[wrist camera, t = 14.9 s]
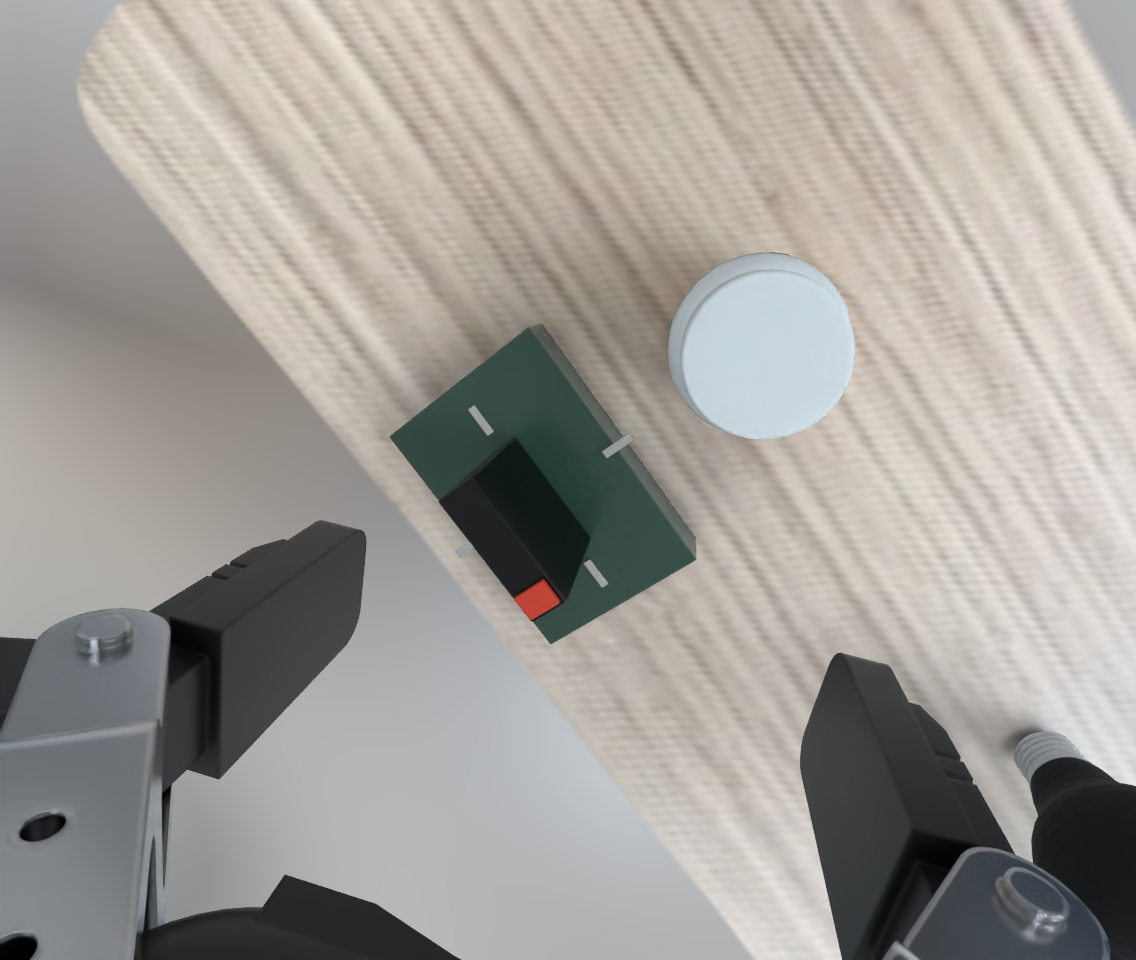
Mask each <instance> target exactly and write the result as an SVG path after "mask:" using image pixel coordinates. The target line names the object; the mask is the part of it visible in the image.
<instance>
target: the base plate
mask: <svg viewBox="0 0 1136 960" xmlns="http://www.w3.org/2000/svg"><path fill="white" fill-rule="evenodd" d="M390 438H391V440H392V441H393V442H394V443H395V445H396V446H397V447H398V449H399V450H400V451H401V452H402V454H403V455H404V456H405V458H406V459H407V460H408V461H409V463H410V464H411V465H412V467H413V468H414V469H415V470H416V472H417V473H418V474H419V476H420V477H421V478H422V479H423V481H424V482H425V483H426V485H427V486H428V487H429V488H430V490H431V491H432V492H433V494H434V495H435V496H436V497H437V499H438V500H440V499H441V498H442V497H443V496H444V495H445V494H446V493H447V492H449V491H450V490H451V489H452V488H453V487H454V486H455V485H457V484H458V483H459V482H460V481H461V480H462V479H463V478H465V477H466V476H467V475H468V474H469V473H470V472H471V471H473V470H474V469H475V468H476V467H477V466H478V465H479V464H481V463H482V462H483V461H484V460H485V459H486V458H487V457H489V456H490V455H491V454H493V453H494V452H495V451H497V450H498V449H500V448H501V447H502V446H504V445H505V444H506V443H508V442H509V441H511V440H512V439H513V438H516V439H517V440H518V441H519V442H520V444H521V445H522V446H523V448H524V449H525V451H526V452H527V453H528V455H529V456H530V457H531V459H532V460H533V461H534V463H535V464H536V465H537V467H538V468H539V469H540V471H541V472H542V473H543V475H544V476H545V477H546V479H547V480H548V481H549V483H550V484H551V485H552V487H553V488H554V489H555V491H556V492H557V493H558V495H559V496H560V497H561V499H562V500H563V501H564V503H565V504H566V505H567V507H568V508H569V510H570V511H571V512H572V514H573V515H574V516H575V518H576V519H577V520H578V522H579V523H580V524H581V526H582V527H583V528H584V530H585V531H586V532H587V534H588V535H589V536H590V538H591V540H590V543H589V545H588V548H587V550H586V553H585V556H584V558H583V561H582V563H581V566H580V569H579V571H578V574H577V576H576V579H575V581H574V584H573V587H572V589H571V592H570V594H569V597H568V600H567V602H566V603H565V604H563V605H561V606H560V607H558V608H556V609H555V610H553V611H551V612H550V613H548V614H546V615H545V616H543V617H541V618H540V619H538V620H536V621H534V624H535V625H536V626H537V627H538V629H539V630H540V631H541V633H542V634H543V635H544V636H545V638H546V639H547V640H548V642H549V643H550V644H552V643H554V642H556V641H558V640H559V639H561V638H563V637H564V636H566V635H568V634H570V633H571V632H573V631H575V630H576V629H578V628H580V627H582V626H583V625H585V624H587V623H588V622H590V621H592V620H594V619H595V618H597V617H599V616H601V615H602V614H604V613H606V612H607V611H609V610H611V609H613V608H614V607H616V606H618V605H619V604H621V603H623V602H625V601H626V600H628V599H630V598H631V597H633V596H635V595H637V594H638V593H640V592H642V591H643V590H645V589H647V588H649V587H650V586H652V585H654V584H656V583H657V582H659V581H661V580H662V579H664V578H666V577H668V576H669V575H671V574H673V573H674V572H676V571H678V570H680V569H681V568H683V567H685V566H686V565H688V564H690V563H692V562H693V561H695V560H696V537H695V536H694V535H693V533H692V532H691V530H690V529H689V528H688V526H687V525H686V524H685V522H684V521H683V519H682V518H681V517H680V515H679V514H678V512H677V511H676V510H675V508H674V507H673V505H672V504H671V503H670V501H669V500H668V498H667V497H666V496H665V494H664V493H663V492H662V490H661V489H660V487H659V486H658V485H657V483H656V482H655V480H654V479H653V478H652V476H651V475H650V473H649V472H648V471H647V469H646V468H645V466H644V465H643V464H642V462H641V461H640V460H639V458H638V457H637V455H636V454H635V453H634V451H633V450H632V448H631V447H630V446H629V443H631V442H632V441H634V438H633V437H632V435H631V434H630V433H628V434H626V435H625V436H622V434H621V433H620V432H619V430H618V429H617V428H616V426H615V425H614V423H613V422H612V421H611V419H610V418H609V416H608V415H607V414H606V412H605V411H604V409H603V408H602V407H601V405H600V404H599V402H598V401H597V400H596V398H595V397H594V395H593V394H592V393H591V391H590V390H589V389H588V387H587V386H586V384H585V383H584V382H583V380H582V379H581V377H580V376H579V375H578V373H577V372H576V370H575V369H574V368H573V366H572V365H571V363H570V362H569V361H568V359H567V358H566V357H565V355H564V354H563V352H562V351H561V350H560V348H559V347H558V345H557V344H556V343H555V341H554V340H553V338H552V337H551V336H550V334H549V333H548V331H547V330H546V329H545V327H544V326H543V325H542V324H539V325H536V326H533V327H529V328H527V329H526V330H524V331H523V332H522V333H521V334H519V335H518V336H517V337H516V338H514V339H513V340H512V341H510V342H509V343H508V344H507V345H505V346H504V347H503V348H502V349H500V350H499V351H498V352H496V353H495V354H494V355H493V356H491V357H490V358H489V359H488V360H486V361H485V362H484V363H482V364H481V365H480V366H479V367H477V368H476V369H475V370H474V371H472V372H471V373H470V374H468V375H467V376H466V377H465V378H463V379H462V380H461V381H460V382H458V383H457V384H456V385H454V386H453V387H452V388H451V389H449V390H448V391H447V392H445V393H444V394H443V395H442V396H440V397H439V398H438V399H437V400H435V401H434V402H433V403H431V404H430V405H429V406H428V407H426V408H425V409H424V410H423V411H421V412H420V413H419V414H417V415H416V416H415V417H414V418H412V419H411V420H410V421H409V422H407V423H406V424H405V425H403V426H402V427H401V428H400V429H398V430H397V431H396V432H395V433H393V434H392V435H391V436H390ZM473 548H474V547H473V546H472V544H471V543H470V542H469V541H468V542H467V543H465V544H464V545H462V546H461V547H459V548H458V549H457V550H455V553H456V554H457V555H458V557H461V556H462V555H464V554H465V553H467V552H468V551H470V550H471V549H473Z"/></svg>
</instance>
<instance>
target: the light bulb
mask: <svg viewBox="0 0 1136 960" xmlns="http://www.w3.org/2000/svg"><path fill="white" fill-rule="evenodd" d="M1014 759H1015V762H1016V765H1017V767H1018V768H1019V769H1020V771H1021V773H1022V774H1023V776H1024V777H1025V778H1026V780H1027V781H1028V783H1029V785H1030V789H1031V793H1032V798H1033V802H1034V805H1035V808H1036V810H1037V813H1038V818H1037V820H1036V822H1035V825H1034V829H1033V834H1032V840H1031V842H1032V857H1033V864H1035V865H1036V866H1038V867H1040V868H1041V869H1043V870H1045V871H1046V872H1048V873H1049V874H1050V875H1052V876H1053V877H1055V878H1056V879H1058V880H1059V881H1060V882H1061V883H1062V884H1064V885H1065V886H1066V887H1067V888H1069V889H1070V890H1071V891H1072V892H1073V893H1074V894H1075V895H1076V896H1077V897H1078V898H1079V899H1080V900H1081V901H1082V902H1083V903H1084V904H1085V905H1086V906H1087V907H1088V908H1089V909H1090V911H1091V912H1092V913H1093V915H1094V916H1095V917H1096V919H1097V920H1098V921H1099V923H1100V925H1101V926H1102V928H1103V930H1104V931H1105V934H1106V936H1107V938H1108V941H1109V945H1110V950H1111V951H1113V952H1115V953H1117V954H1118V955H1120V956H1122V957H1124V958H1126V959H1128V960H1136V786H1133V785H1128V784H1122V783H1119V782H1117V781H1115V780H1114V779H1113V778H1112V777H1110V776H1109V775H1108V774H1107V773H1105V772H1104V771H1103V770H1101V769H1100V768H1098V767H1096V766H1095V765H1093V764H1092V763H1090V762H1089V761H1087V760H1086V759H1085V758H1084V757H1083V755H1082V754H1081V753H1080V752H1079V750H1078V749H1077V748H1076V747H1075V745H1074V744H1072V743H1071V741H1070V740H1068V739H1067V738H1066V737H1065V736H1063V735H1061V734H1059V733H1055V732H1045V731H1042V732H1036V733H1033V734H1030V735H1028V736H1026V737H1025V738H1023V739H1022V740H1021V741H1020V742H1019V743H1018V745H1017V746H1016V749H1015V753H1014Z"/></svg>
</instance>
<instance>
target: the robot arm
mask: <svg viewBox="0 0 1136 960" xmlns="http://www.w3.org/2000/svg"><path fill="white" fill-rule="evenodd" d="M365 554H366V536H365V534H364V532H363V531H362V530H358V529H354V528H351V527H346V526H342V525H339V524H335V523H331V522H327V521H323V520H321V521H317V522H315V523H314V524H312V525H311V526H309V527H308V528H306V529H304V530H303V531H301V532H300V533H298V534H297V535H295V536H293V537H292V538H290V539H289V540H284V539H282V540H279V541H275V542H272V543H268V544H265V545H261V546H258V547H255V548H252V549H251V550H249V551H247V552H245V553H244V554H242V555H241V556H239V557H237V558H236V559H234V560H232V561H231V563H230V565H227V564H226V565H224V566H223V567H221V568H219V569H218V570H216V571H214V572H213V573H212V576H211V577H209V576H206V577H205V578H203V579H201V580H200V581H198V582H196V583H195V584H193V585H191V586H190V587H188V588H186V589H185V590H183V591H182V592H180V593H178V594H177V595H175V596H173V597H172V598H170V599H169V600H167V601H165V602H164V603H162V604H160V605H159V606H157V607H155V608H154V609H152V610H150V611H149V612H148V611H144V610H138V609H127V608H119V609H105V610H98V611H92V612H88V613H84V614H80V615H77V616H74V617H71V618H68V619H66V620H63V621H61V622H59V623H57V624H55V625H54V626H52V627H50V628H49V629H47V630H46V631H45V632H43V633H42V635H41V636H39V638H38V639H22V638H5V637H0V960H460V959H459V958H457V957H455V956H454V955H452V954H451V953H449V952H448V951H446V950H444V949H443V948H441V947H440V946H438V945H437V944H435V943H434V942H432V941H431V940H429V939H428V938H426V937H425V936H423V935H422V934H420V933H419V932H417V931H416V930H414V929H413V928H411V927H410V926H408V925H407V924H405V923H404V922H402V921H401V920H399V919H398V918H396V917H395V916H393V915H392V914H390V913H389V912H387V911H386V910H384V909H383V908H381V907H380V906H378V905H377V904H375V903H372V902H368V901H365V900H362V899H359V898H356V897H353V896H350V895H347V894H344V893H341V892H337V891H334V890H331V889H328V888H325V887H322V886H319V885H316V884H313V883H309V882H306V881H303V880H300V879H296V878H294V877H291V876H288V875H284V877H283V878H282V880H281V881H280V883H279V884H278V885H277V887H276V888H275V890H274V891H273V893H272V894H271V896H270V897H269V899H268V900H267V902H266V903H265V904H264V906H263V907H262V908H261V907H245V908H233V909H222V910H217V911H211V912H206V913H200V914H196V915H192V916H189V917H185V918H182V919H178V920H175V921H171V922H168V923H166V924H165V913H166V912H165V911H166V897H167V881H168V865H169V848H170V832H171V818H172V802H173V801H172V800H173V794H172V789H173V788H172V783H173V782H174V781H175V780H177V779H178V777H180V776H181V775H182V774H183V773H184V772H185V771H186V770H191V771H193V772H197V773H200V774H203V775H207V776H210V777H213V778H216V779H220V778H221V777H222V776H223V775H224V773H226V772H227V770H228V769H229V768H230V767H231V766H232V765H233V764H234V763H235V762H236V761H237V760H238V759H239V758H240V757H241V756H242V755H243V754H244V753H245V752H246V750H247V749H248V748H249V747H250V746H251V745H252V744H253V743H254V742H255V741H256V740H257V739H258V738H259V737H260V736H261V735H262V734H263V733H264V731H265V730H266V729H267V728H268V727H269V726H270V725H271V724H272V723H273V722H274V721H275V720H276V719H277V718H278V717H279V716H280V714H282V712H283V711H284V710H285V709H286V708H287V707H288V706H289V705H290V704H291V703H292V702H293V701H294V700H295V699H296V698H297V697H298V696H299V694H300V693H301V692H302V691H303V690H304V689H305V688H306V687H307V686H308V685H309V684H310V683H311V682H312V681H313V679H315V678H316V677H317V675H318V674H319V673H320V672H321V671H322V670H323V669H324V668H325V667H326V666H327V665H328V664H329V663H330V662H331V661H332V659H334V657H335V656H336V655H337V654H338V653H339V652H340V651H341V650H342V649H343V648H344V647H345V646H346V645H347V643H348V642H349V640H350V638H351V637H352V635H353V633H354V630H355V628H356V625H357V622H358V619H359V614H360V607H361V597H362V586H363V576H364V565H365ZM800 769H801V775H802V780H803V784H804V789H805V793H806V798H807V802H808V807H809V811H810V816H811V820H812V825H813V829H814V834H815V839H816V843H817V848H818V852H819V857H820V861H821V866H822V870H823V875H824V879H825V884H826V888H827V893H828V897H829V902H830V906H831V911H832V915H833V920H834V924H835V929H836V933H837V938H838V942H839V947H840V951H841V956H842V960H1128V959H1126V958H1124V957H1122V956H1120V955H1118V954H1117V953H1115V952H1113V951H1111V950H1110V945H1109V941H1108V938H1107V936H1106V934H1105V931H1104V930H1103V928H1102V926H1101V925H1100V923H1099V921H1098V920H1097V919H1096V917H1095V916H1094V915H1093V913H1092V912H1091V911H1090V909H1089V908H1088V907H1087V906H1086V905H1085V904H1084V903H1083V902H1082V901H1081V900H1080V899H1079V898H1078V897H1077V896H1076V895H1075V894H1074V893H1073V892H1072V891H1071V890H1070V889H1069V888H1067V887H1066V886H1065V885H1064V884H1062V883H1061V882H1060V881H1059V880H1058V879H1056V878H1055V877H1053V876H1052V875H1050V874H1049V873H1048V872H1046V871H1045V870H1043V869H1041V868H1040V867H1038V866H1036V865H1035V864H1033V863H1031V862H1029V861H1027V860H1025V859H1023V858H1021V857H1019V856H1017V855H1015V853H1014V851H1013V849H1012V848H1011V846H1010V844H1009V842H1008V840H1007V839H1006V837H1005V835H1004V833H1003V832H1002V830H1001V828H1000V826H999V824H998V823H997V821H996V819H995V817H994V816H993V814H992V812H991V810H990V808H989V807H988V805H987V803H986V801H985V800H984V798H983V796H982V794H981V793H980V791H979V789H978V787H977V785H974V784H973V783H972V781H973V778H972V777H971V775H970V773H969V771H968V769H967V768H966V766H965V764H964V762H960V755H959V753H958V752H957V750H956V748H955V746H954V745H953V743H952V741H951V739H950V737H949V736H948V734H947V732H946V731H945V730H944V729H943V728H942V727H941V726H940V725H939V724H938V723H937V722H936V721H935V720H934V719H933V718H932V717H931V716H930V715H929V714H928V713H927V712H926V711H925V710H924V709H923V708H922V707H921V706H920V705H916V704H912V703H909V702H908V700H907V698H906V696H905V694H904V692H903V691H902V689H901V687H900V685H899V683H898V681H897V679H896V677H895V675H894V673H893V671H892V669H891V668H890V667H889V666H888V665H886V664H882V663H878V662H874V661H870V660H867V659H863V658H859V657H855V656H851V655H847V654H843V653H837V654H836V655H835V656H834V657H833V659H832V660H831V662H830V664H829V667H828V669H827V672H826V675H825V677H824V680H823V683H822V686H821V688H820V691H819V694H818V697H817V699H816V702H815V705H814V707H813V710H812V713H811V716H810V718H809V721H808V724H807V727H806V729H805V732H804V736H803V740H802V746H801V754H800Z"/></svg>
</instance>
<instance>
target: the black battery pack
mask: <svg viewBox="0 0 1136 960" xmlns="http://www.w3.org/2000/svg"><path fill="white" fill-rule="evenodd" d="M439 503H440V504H441V506H442V507H443V508H444V510H445V511H446V512H447V513H448V515H449V516H450V517H451V519H452V520H453V521H454V522H455V524H456V525H457V526H458V528H459V529H460V530H461V531H462V533H463V534H464V535H465V537H466V538H467V539H468V540H469V542H470V543H471V544H472V546H473V547H474V548H475V549H476V551H477V552H478V553H479V555H480V556H481V557H482V558H483V560H484V561H485V562H486V564H487V565H488V566H489V567H490V569H491V570H492V571H493V573H494V574H495V575H496V576H497V578H498V579H499V580H500V582H501V583H502V584H503V585H504V587H505V588H506V589H507V591H508V592H509V593H510V594H511V596H512V597H513V598H514V600H515V601H516V603H517V604H518V605H519V606H520V608H521V609H522V610H523V612H524V613H525V614H526V615H527V617H528V618H529V619H530V620H531V621H532V622H534V621H536V620H538V619H540V618H541V617H543V616H545V615H546V614H548V613H550V612H551V611H553V610H555V609H556V608H558V607H560V606H561V605H563V604H565V603H566V602H567V600H568V597H569V594H570V592H571V589H572V587H573V584H574V581H575V579H576V576H577V574H578V571H579V569H580V566H581V563H582V561H583V558H584V556H585V553H586V550H587V548H588V545H589V543H590V540H591V538H590V536H589V535H588V534H587V532H586V531H585V530H584V528H583V527H582V526H581V524H580V523H579V522H578V520H577V519H576V518H575V516H574V515H573V514H572V512H571V511H570V510H569V508H568V507H567V505H566V504H565V503H564V501H563V500H562V499H561V497H560V496H559V495H558V493H557V492H556V491H555V489H554V488H553V487H552V485H551V484H550V483H549V481H548V480H547V479H546V477H545V476H544V475H543V473H542V472H541V471H540V469H539V468H538V467H537V465H536V464H535V463H534V461H533V460H532V459H531V457H530V456H529V455H528V453H527V452H526V451H525V449H524V448H523V446H522V445H521V444H520V442H519V441H518V440H517V439H516V438H513V439H512V440H511V441H509V442H508V443H506V444H505V445H504V446H502V447H501V448H500V449H498V450H497V451H495V452H494V453H493V454H491V455H490V456H489V457H487V458H486V459H485V460H484V461H483V462H482V463H481V464H479V465H478V466H477V467H476V468H475V469H474V470H473V471H471V472H470V473H469V474H468V475H467V476H466V477H465V478H463V479H462V480H461V481H460V482H459V483H458V484H457V485H455V486H454V487H453V488H452V489H451V490H450V491H449V492H447V493H446V494H445V495H444V496H443V497H442V498H441V499H440V500H439Z"/></svg>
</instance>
